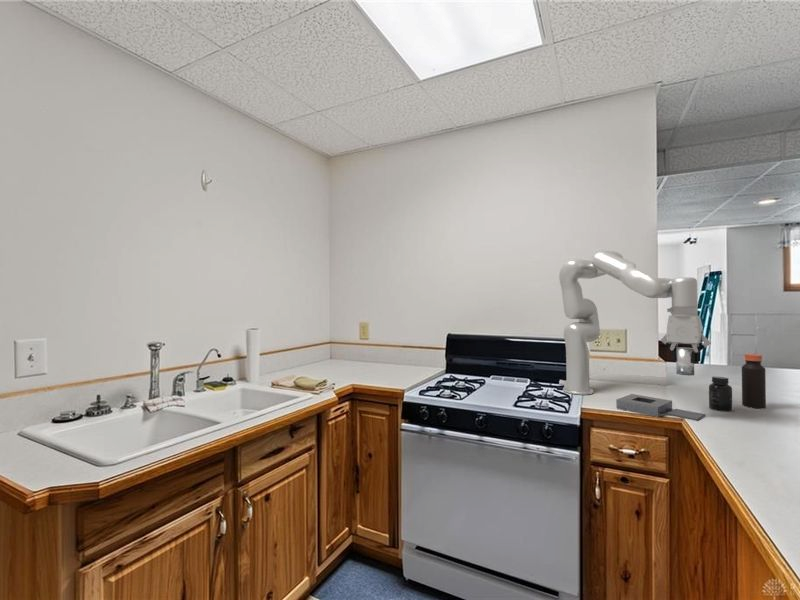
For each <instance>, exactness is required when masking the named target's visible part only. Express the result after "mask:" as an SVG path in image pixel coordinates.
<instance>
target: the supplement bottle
mask: <svg viewBox="0 0 800 600" xmlns="http://www.w3.org/2000/svg"><path fill="white" fill-rule="evenodd" d="M711 382H712V383H710V384H709V385H708V408H710V409H711V410H715V411H720V412H731V411H732V410H733V388H732V386H731V385H729V377H724V376H712V377H711Z"/></svg>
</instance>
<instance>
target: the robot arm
mask: <svg viewBox="0 0 800 600" xmlns="http://www.w3.org/2000/svg"><path fill="white" fill-rule="evenodd" d="M591 257H592V258H591V259H577V258H576V259H570V260H568V261H567V262H565V263H563V265H562V267H561V268H560V270H559V274H558V278H559V279H558V281H559V284H560V289H561V296H562V304H563V311H564V315H565V317H566V318H567V319H570V320H578V321H575V322H571V323H568V324H567V325H566V326H565V327H564V329H563V338H564V342H565V343H564V345H565V358H566V359H565V362H566V365H565V367H566V380H564V379H559V382H558V384H559V385H561V386H563V388H562V392H564V393H567V394H570V395H571V394H573V395H580V396H586V395H588V394H589V395H593V394H594V389H592V388H591V387H590V385H591V384H590V383H591V382H590V350H589V347H588V345H587V344H588V343H590V342H594V341H596V340H597V339H598V338H599V337H600V332H601V329H600V328H601V327H600V321H599V313H598V307H597V305H596V304H595V302H594V301H593V300H591V299H589V298H584V296H583V289H582V286H581V283H580V282H579V280H578V279H585V280H586V279H587V280H588V279H594V278H599V277H602V276H605V275H608V276H609V277H612V278H614V279H616V280H618V281H620V282H621V283H622V284H623V285H624V286H626V288H628V289H630V290H632V291H634V292H635V293H637V294H639V295H642V296H644V297H647V298H650V299H667V298H669V299H670V298H671V307H669V308H667V309H666V311H667V313H671V315H668V319H667V325H666V333H665V335H664V336H663V337H662V338H661V339H660V341H661V343H663V344H664V345H666V347H667V348H668V349H669V350H670V351H671V354H670V355H671V359H672V362H674V363H676V348H678V347H679V346H678V345H679V344H685V345H691V348H693V350H694V352H693V353H692V363H693V364H694V365H696V364H698V362H699V361H700V352H701V351H702V350H704V349H705V348H707V347H708V346H710V345H712V342H711V341H710V340H709V339H708V338H707V337H706V336H705V335H704V328H703V323H702V319H701V316H700V315H698V314H699V312H698V311H699V307H698V280H697V278H695V277H691V276H690V277H689V276H688V277H675V278H665V277H664V278H663V277H653V276H651V275H648V274H647V273H644V272H643V271H640V270H639V269H637V266H636V264H635V263H634V262H633V261H630V260H628V259H627V258H624V256H623V255H622V254H621V253H619V252H617V251H615V250H614V251H613V250H612V251H611V250H599V251H596V252H595V253H594V254H593V255H592V256H591ZM701 343H702V344H701ZM699 344H701V345H699ZM592 393H593V394H592Z"/></svg>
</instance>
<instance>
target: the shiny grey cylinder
mask: <svg viewBox="0 0 800 600" xmlns="http://www.w3.org/2000/svg"><path fill="white" fill-rule="evenodd" d="M693 352H694V350H693V347H684V346H683V347H681V346H680V347H679V346H677V348H676V362H675V363H676V364H675V365H676V367H675V369H676V372H675V373H676V374H677V375H680V376H690V377H691V376H695V364H693V363H692V353H693Z"/></svg>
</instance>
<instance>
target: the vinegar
mask: <svg viewBox="0 0 800 600" xmlns="http://www.w3.org/2000/svg"><path fill="white" fill-rule="evenodd" d="M744 361H745V364H743V365H742V366H741V404H742V406H743V405H744V407H746V406H747V407H746V408H750V407H752V408H751V409H758V408H763V409H765V408H766V407H767V399H766V397H767V394H766V391H767V390H766V389H767V388H766V386H767V385H766V379H767V378H766V368H765V367H764V366H763V365H762V362H763V356H762V354H757V353H745V354H744Z"/></svg>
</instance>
